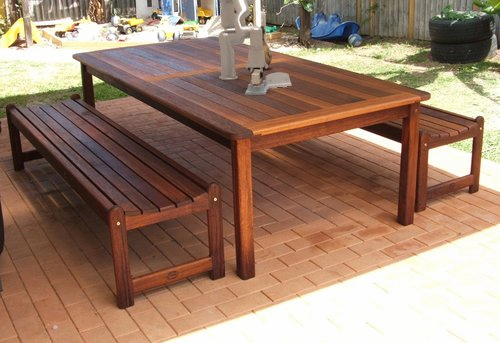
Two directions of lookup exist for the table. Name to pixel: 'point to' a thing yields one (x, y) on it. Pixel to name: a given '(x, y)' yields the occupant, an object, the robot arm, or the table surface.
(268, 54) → the ceramic jug
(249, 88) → the rack
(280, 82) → the white router
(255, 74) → the clay bar
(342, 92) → the table surface
